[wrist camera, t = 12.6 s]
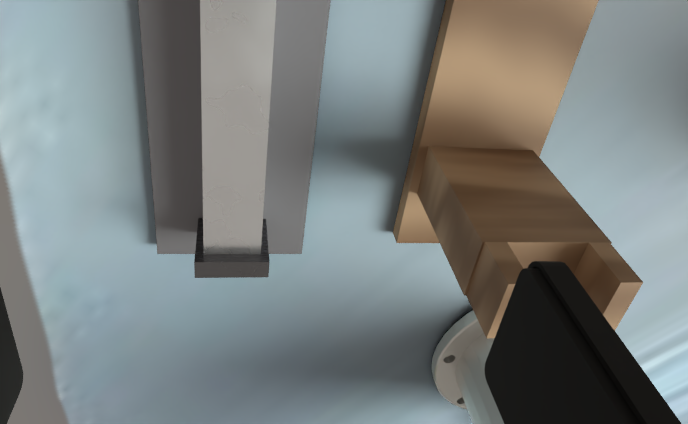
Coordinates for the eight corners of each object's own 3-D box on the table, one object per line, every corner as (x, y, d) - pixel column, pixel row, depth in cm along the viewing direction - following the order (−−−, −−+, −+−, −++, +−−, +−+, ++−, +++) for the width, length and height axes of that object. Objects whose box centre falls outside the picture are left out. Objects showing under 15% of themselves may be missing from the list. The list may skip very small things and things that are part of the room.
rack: (500, 233, 35) (593, 385, 26) (392, 232, 34) (451, 393, 25) (707, -332, 20) (1092, -438, 11) (531, -376, 19) (809, -539, 10)
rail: (265, 233, 31) (268, 277, 28) (198, 232, 31) (194, 277, 28) (307, -416, 17) (323, -459, 14) (184, -446, 16) (174, -498, 13)
